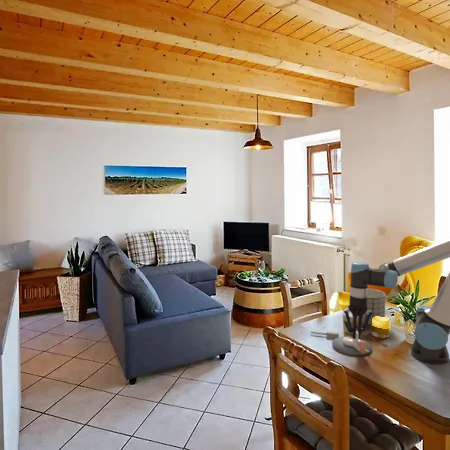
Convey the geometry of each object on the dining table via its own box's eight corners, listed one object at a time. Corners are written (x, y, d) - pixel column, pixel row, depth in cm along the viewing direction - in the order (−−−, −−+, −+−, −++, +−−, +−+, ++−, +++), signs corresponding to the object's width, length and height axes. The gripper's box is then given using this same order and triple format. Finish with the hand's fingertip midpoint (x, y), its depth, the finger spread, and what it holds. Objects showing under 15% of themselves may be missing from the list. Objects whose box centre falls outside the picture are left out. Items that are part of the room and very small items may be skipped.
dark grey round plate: (373, 343, 176) (373, 340, 176) (368, 359, 161) (368, 355, 161) (336, 336, 185) (336, 333, 185) (328, 350, 170) (328, 346, 170)
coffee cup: (341, 338, 183) (341, 316, 182) (342, 332, 192) (343, 310, 190) (360, 341, 179) (361, 318, 178) (361, 334, 188) (361, 312, 187)
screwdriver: (338, 337, 185) (338, 332, 185) (338, 339, 183) (338, 334, 182) (311, 333, 190) (311, 328, 190) (310, 335, 188) (310, 330, 187)
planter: (346, 317, 214) (346, 287, 212) (379, 318, 211) (379, 288, 210) (352, 329, 195) (353, 297, 193) (389, 330, 193) (390, 298, 191)
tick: (363, 350, 166) (363, 349, 166) (364, 349, 167) (364, 349, 167) (368, 352, 164) (368, 351, 164) (369, 351, 165) (369, 351, 164)
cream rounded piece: (340, 340, 176) (340, 330, 176) (355, 339, 177) (355, 329, 177) (355, 354, 161) (356, 343, 161) (372, 353, 162) (372, 342, 162)
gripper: (370, 294, 166) (367, 342, 168) (342, 293, 167) (340, 341, 169) (375, 298, 159) (372, 349, 161) (346, 297, 160) (344, 348, 162)
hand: (356, 345), depth 165 cm, fingers closed
